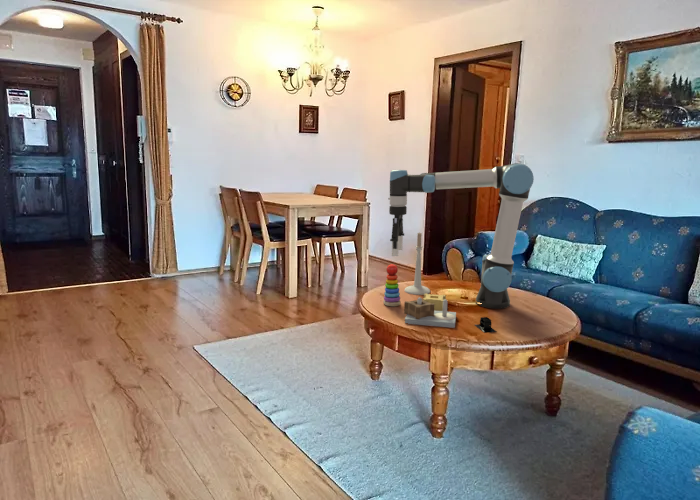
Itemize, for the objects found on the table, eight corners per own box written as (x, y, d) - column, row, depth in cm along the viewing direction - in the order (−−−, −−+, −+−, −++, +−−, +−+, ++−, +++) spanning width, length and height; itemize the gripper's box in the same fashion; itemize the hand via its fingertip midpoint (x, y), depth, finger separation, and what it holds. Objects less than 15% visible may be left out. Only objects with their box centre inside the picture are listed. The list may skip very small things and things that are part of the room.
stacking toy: (400, 302, 233) (401, 262, 229) (400, 307, 225) (401, 266, 221) (383, 301, 233) (384, 262, 230) (383, 306, 226) (384, 266, 222)
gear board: (455, 316, 213) (457, 295, 211) (454, 327, 200) (455, 305, 198) (408, 312, 217) (409, 291, 216) (404, 323, 204) (405, 301, 202)
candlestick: (410, 286, 259) (412, 229, 253) (433, 290, 253) (436, 231, 247) (400, 292, 249) (402, 232, 243) (424, 296, 242) (427, 235, 236)
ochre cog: (445, 305, 228) (446, 294, 227) (444, 312, 219) (444, 301, 218) (423, 303, 231) (424, 293, 230) (421, 310, 221) (422, 299, 220)
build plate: (470, 324, 205) (470, 314, 204) (486, 323, 207) (487, 313, 206) (484, 335, 193) (484, 324, 192) (501, 334, 195) (502, 323, 194)
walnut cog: (420, 309, 216) (421, 298, 215) (435, 315, 208) (436, 304, 207) (402, 313, 211) (402, 301, 210) (417, 319, 203) (417, 308, 202)
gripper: (393, 202, 232) (393, 247, 236) (384, 208, 208) (384, 258, 213) (409, 202, 230) (408, 247, 235) (402, 208, 207) (401, 259, 211)
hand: (397, 252), depth 224 cm, fingers open, 13 cm apart
